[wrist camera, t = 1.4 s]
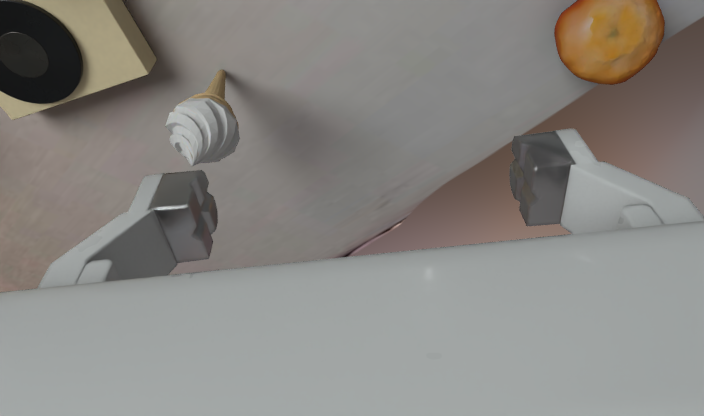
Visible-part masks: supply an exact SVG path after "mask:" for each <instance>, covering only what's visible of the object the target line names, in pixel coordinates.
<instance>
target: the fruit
mask: <svg viewBox="0 0 704 416" xmlns="http://www.w3.org/2000/svg"><path fill="white" fill-rule="evenodd" d="M664 24H665V22H664V17H663V15H662V12H661V9H660V7H659V5H658V2H657V0H577V1H576V2H575V3H574V4H572V5H571V6H570V7H569V8H567V9H566V10H565V11H564V12H562V14H561V15H560V17H559V19H558V20H557V23H556V26H555V33H554V34H555V40H556V45H557V50H558V54H559V57H560V59H561V61H562V62H563V63H564V65H565V66H566V67H567V68H568V69H569V70H570V71H571V72H572V73H573V74H574V75H575V76H577V77H579V78H581V79H583V80H586V81H590V82H594V83H599V84H610V85H613V84H618V83H622V82H625V81H627V80H628V79H630V78H631V77H633V76H634V75H635V74H636V73H638V72H639V71H640V70H642V69H643V68H644V67H645V66H646V65H647V64H648V63H649V62H650V61H651V60H652V59H653V57H654V56H655V54H656V53H657V50H658V47H659V45H660V43H661V41H662V39H663V36H664Z"/></svg>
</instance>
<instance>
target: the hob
mask: <svg viewBox="0 0 704 416" xmlns="http://www.w3.org/2000/svg"><path fill="white" fill-rule="evenodd" d="M23 1H27V2H29V3H32V4H34V5H37V6H39V7H41V8H42V9H44V10H46V11H47V12H49V13H50V14H52V15H53V16H54V17H56V18H57V19H58V20H59V21H60V22H61V23H62V24H63V25H64V26H65V27H66V28H67V29H68V30H69V32H70V33H71V34H72V36H73V37H74V39H75V41H76V42H77V44H78V47H79V49H80V52H81V55H82V60H83V75H82V78H81V81H80V83H79V85H78V86H77V88H76V89H75V90H74V92H73V93H72V94H70V95H69V96H68V97H66V98H65V99H63V100H60V101H58V102H54V103H48V104H36V103H29V102H24V101H21V100H18V99H15V98H13V97H11V96H9V95H7V94H5V93H3V92H1V91H0V106H1V107H2V109H3V110H4V111H5V112H6V113H7V115H8V116H9V117H10V118H11V119H12V120H15V119H18V118H21V117H24V116H27V115H30V114H33V113H36V112H39V111H42V110H45V109H48V108H51V107H53V106H56V105H59V104H62V103H65V102H68V101H71V100H74V99H77V98H80V97H83V96H86V95H89V94H92V93H95V92H98V91H101V90H104V89H107V88H110V87H113V86H116V85H119V84H122V83H125V82H127V81H130V80H133V79H136V78H139V77H142V76H145V75H148V74H149V73H150V71H151V69H152V68H153V66H154V64H155V62H156V61H157V59H156V57H155V55H154V54H153V52H152V50H151V49H150V47H149V45H148V43H147V42H146V40H145V38H144V37H143V35H142V33H141V32H140V30H139V28H138V27H137V25H136V23H135V21H134V20H133V18H132V16H131V15H130V13H129V11H128V10H127V8H126V6H125V5H124V3H123V1H122V0H23Z"/></svg>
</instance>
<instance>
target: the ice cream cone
mask: <svg viewBox="0 0 704 416" xmlns="http://www.w3.org/2000/svg"><path fill="white" fill-rule="evenodd" d="M225 78H226V74H225V71H224V70H220V71H218V72H217V74H216V76H215V78H214V79H213V81H212V82H211V84H210V86H209V87H208V89H207V90H206V92H205V93H201V94H196V95H194V96H192V97H191V98H188V99H186V100H184V101H182V102H181V103H179V104H178V105H177V106H176V107H175V109H174V111H173V112H170V114H169V117H168V120H167V123H166V126H165V127H166V128H167V129H168V130H169V131H170V132H171V133H172V134H173V135H171V137H170V142H171V144H172V145H173V146H174V148H175V149H176V150H177V151H178V152H180V153H181V154H182V155H183V156H184V157H185V158H187V159H188V161H189V163H190V164H191V166H194V165H196V164H199V163H210V162H217V161H220V160H221V159H223V158H225V157H227V156H228V155H230V154H232V153H233V152H234V151H235V149H236V146H237V144H238V142H239V139H240V137H239V131H238V122H237V120H236V117H235V115H234V114H233V111H232V108H231V107H230V105H229V104H228V103H227V102H226V101H225V100H224V98H225Z"/></svg>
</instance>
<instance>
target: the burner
mask: <svg viewBox="0 0 704 416" xmlns="http://www.w3.org/2000/svg"><path fill="white" fill-rule="evenodd" d="M82 75H83V60H82V55H81V52H80V49H79V47H78V44H77V42H76V41H75V39H74V37H73V36H72V34H71V33H70V32H69V30H68V29H67V28H66V27H65V26H64V25H63V24H62V23H61V22H60V21H59V20H58V19H57V18H56V17H54V16H53V15H52V14H50V13H49V12H47V11H46V10H44V9H42V8H41V7H39V6H37V5H34V4H32V3H29V2H27V1H23V0H0V91H1V92H3V93H5V94H7V95H9V96H11V97H13V98H15V99H18V100H21V101H24V102H29V103H36V104H48V103H54V102H58V101H60V100H63V99H65V98H66V97H68V96H69V95H70V94H72V93H73V92H74V90H75V89H76V88H77V86H78V85H79V83H80V81H81V78H82Z"/></svg>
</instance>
